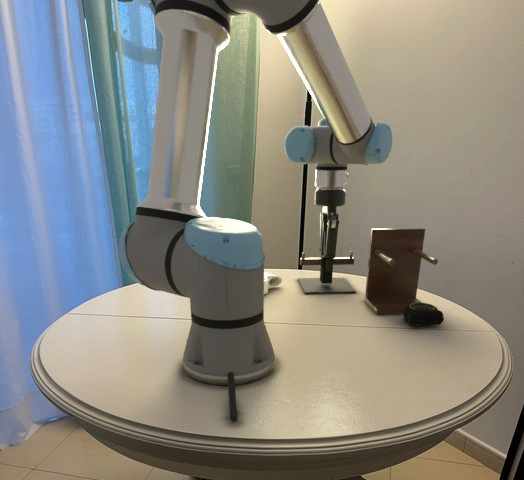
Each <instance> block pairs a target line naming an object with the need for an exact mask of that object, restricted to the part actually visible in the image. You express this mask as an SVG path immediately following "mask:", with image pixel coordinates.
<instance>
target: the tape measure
mask: <svg viewBox="0 0 524 480" xmlns="http://www.w3.org/2000/svg"><path fill="white" fill-rule="evenodd" d="M403 321H404V322H405V323H407V324H408V325H409V324H410V325H411V326H416V327H417V326H419V327H420V328H421V327H425V326H438V325H442V323H444V321H445V317H444V313H443V311H442V310H440V309H438V307H437V306H435V305H433V304H431V303H426V302H422V303H410V304H408V305H406V306H405V309H404V314H403Z"/></svg>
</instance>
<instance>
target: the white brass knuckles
mask: <svg viewBox="0 0 524 480" xmlns="http://www.w3.org/2000/svg"><path fill="white" fill-rule="evenodd" d="M282 282H283V278H282V277H281V276H279V275H277V274H272V273H269V272H266V271H264V295H267V294H268V293H269V289H274V288H276V287H277V286H280V285H281V284H282Z"/></svg>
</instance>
